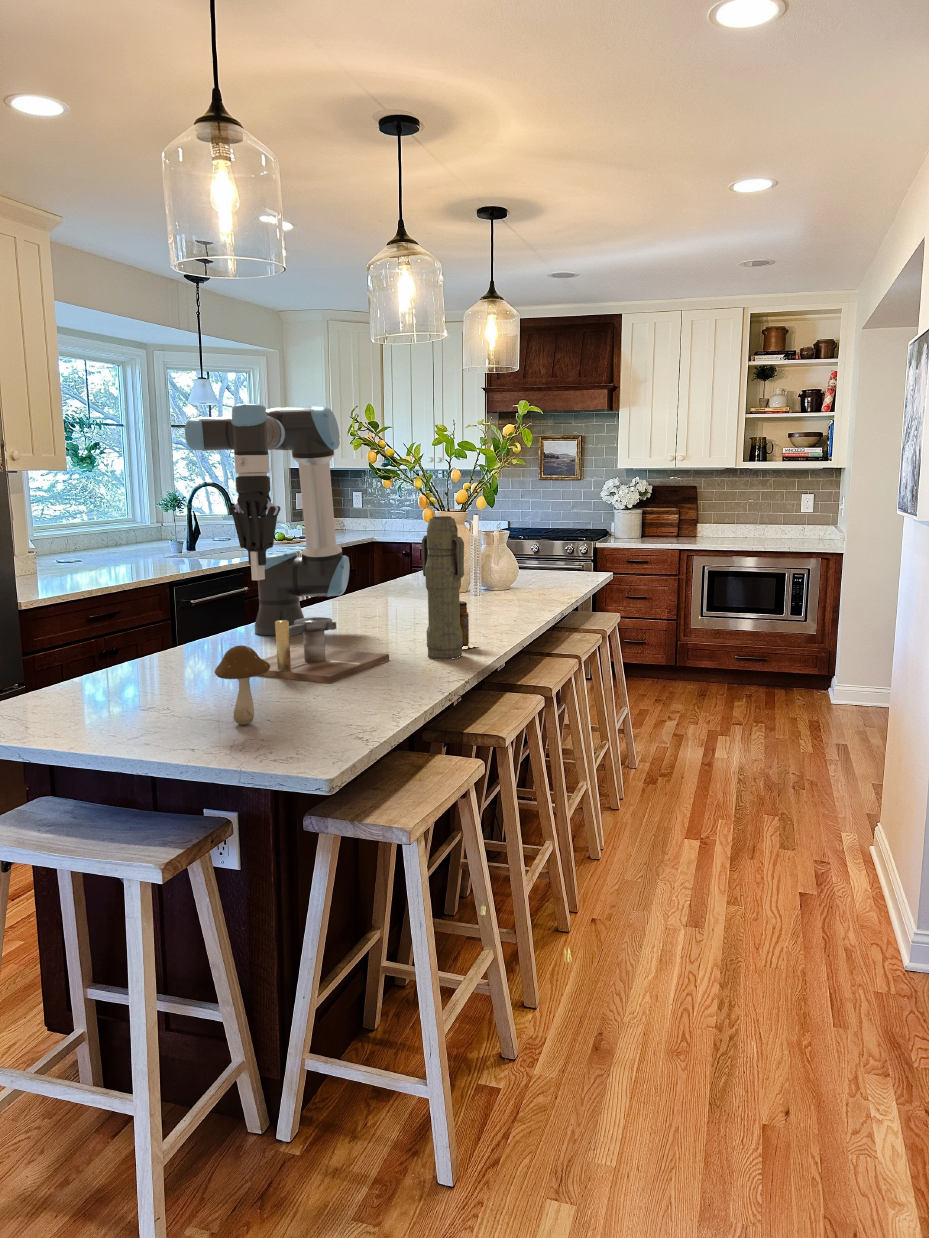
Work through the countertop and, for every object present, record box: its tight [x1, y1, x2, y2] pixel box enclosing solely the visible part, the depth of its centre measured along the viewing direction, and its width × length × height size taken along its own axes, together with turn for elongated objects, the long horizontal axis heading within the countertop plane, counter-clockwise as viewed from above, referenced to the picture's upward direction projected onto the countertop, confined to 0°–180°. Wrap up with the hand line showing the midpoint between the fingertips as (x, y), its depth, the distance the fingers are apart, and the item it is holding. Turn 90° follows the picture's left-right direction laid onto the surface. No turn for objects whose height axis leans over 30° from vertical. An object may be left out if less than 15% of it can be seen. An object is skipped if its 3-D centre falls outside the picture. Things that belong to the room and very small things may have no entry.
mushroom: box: [214, 645, 270, 726], centre depth 165 cm, size 9×11×15 cm
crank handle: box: [275, 616, 337, 670], centre depth 208 cm, size 10×18×11 cm, turn 154°
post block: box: [261, 631, 390, 684], centre depth 213 cm, size 26×26×9 cm
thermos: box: [421, 515, 465, 660], centre depth 220 cm, size 9×12×35 cm
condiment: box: [460, 600, 470, 647], centre depth 234 cm, size 7×8×12 cm
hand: (258, 579), depth 202 cm, fingers closed
